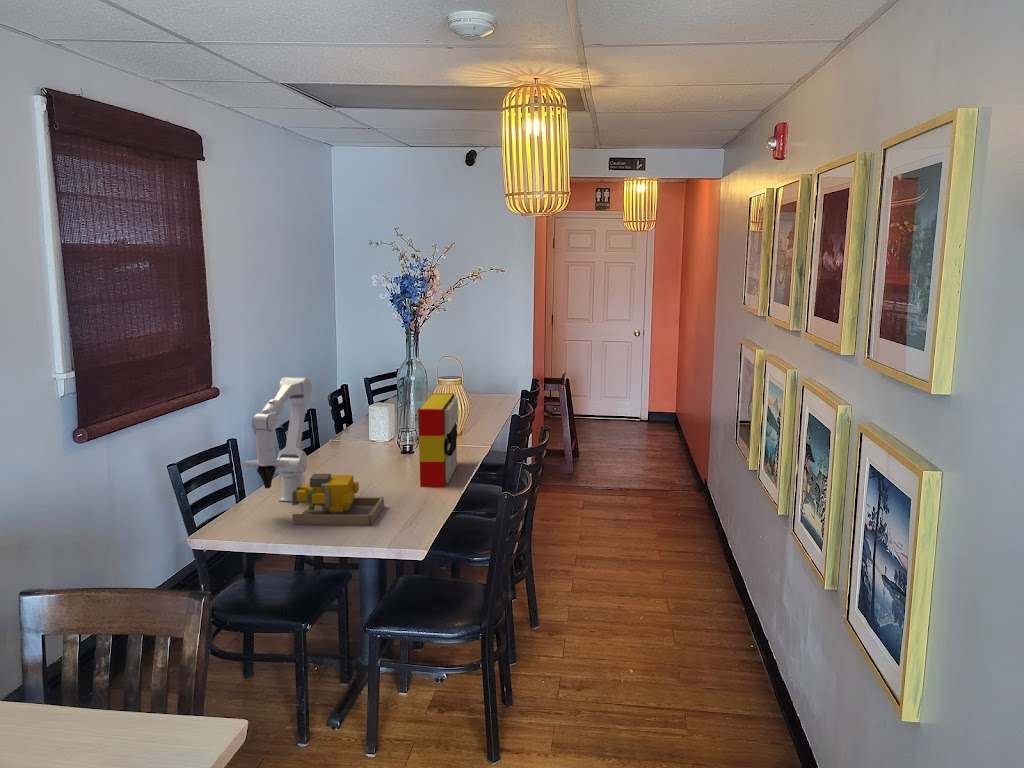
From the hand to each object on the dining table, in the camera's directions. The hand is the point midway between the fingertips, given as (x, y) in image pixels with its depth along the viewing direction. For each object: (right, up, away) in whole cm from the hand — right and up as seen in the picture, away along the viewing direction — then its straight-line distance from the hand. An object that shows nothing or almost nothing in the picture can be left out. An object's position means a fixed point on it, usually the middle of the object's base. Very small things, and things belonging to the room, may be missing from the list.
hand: (268, 487), depth 261 cm
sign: (+54, -1, +47) cm, 72 cm away
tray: (+24, -9, 0) cm, 26 cm away
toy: (+9, -2, 0) cm, 10 cm away
